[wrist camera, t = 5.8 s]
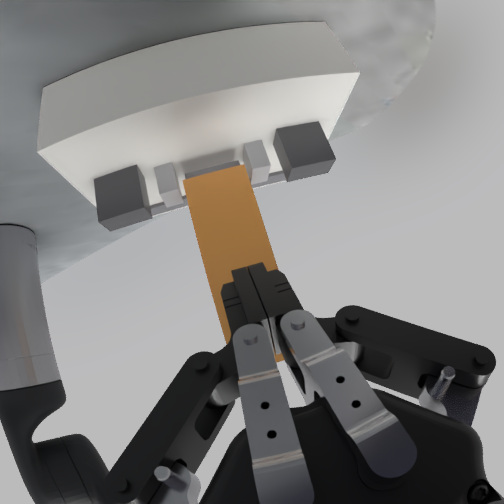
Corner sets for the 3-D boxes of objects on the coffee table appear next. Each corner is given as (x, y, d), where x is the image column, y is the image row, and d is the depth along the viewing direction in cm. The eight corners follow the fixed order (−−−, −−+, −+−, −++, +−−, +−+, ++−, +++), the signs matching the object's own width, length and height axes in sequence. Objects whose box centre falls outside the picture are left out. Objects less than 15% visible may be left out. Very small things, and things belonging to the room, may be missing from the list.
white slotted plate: (112, 179, 28) (125, 258, 26) (43, 87, 14) (36, 202, 13) (292, 131, 30) (321, 204, 28) (324, 21, 16) (384, 113, 15)
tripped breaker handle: (184, 183, 22) (236, 368, 19) (179, 168, 19) (236, 374, 17) (239, 169, 22) (296, 350, 20) (240, 152, 20) (303, 353, 17)
